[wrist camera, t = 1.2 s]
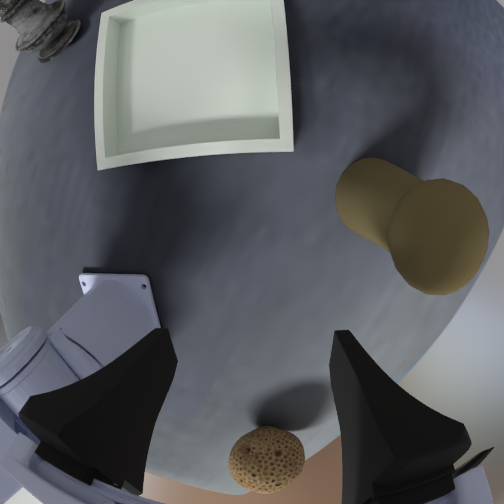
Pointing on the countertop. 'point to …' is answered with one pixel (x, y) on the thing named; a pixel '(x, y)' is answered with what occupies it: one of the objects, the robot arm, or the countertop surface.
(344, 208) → the cork
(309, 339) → the countertop surface
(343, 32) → the countertop surface
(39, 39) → the gray chess piece
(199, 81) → the tray
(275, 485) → the natural sponge
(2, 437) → the robot arm
